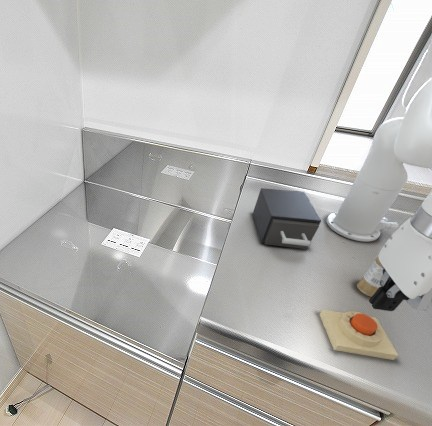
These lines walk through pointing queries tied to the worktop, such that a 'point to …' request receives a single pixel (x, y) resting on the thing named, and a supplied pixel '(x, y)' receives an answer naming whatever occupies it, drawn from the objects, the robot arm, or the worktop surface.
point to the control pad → (356, 336)
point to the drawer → (291, 233)
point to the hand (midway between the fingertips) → (380, 306)
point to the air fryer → (281, 209)
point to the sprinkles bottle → (371, 279)
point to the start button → (363, 324)
